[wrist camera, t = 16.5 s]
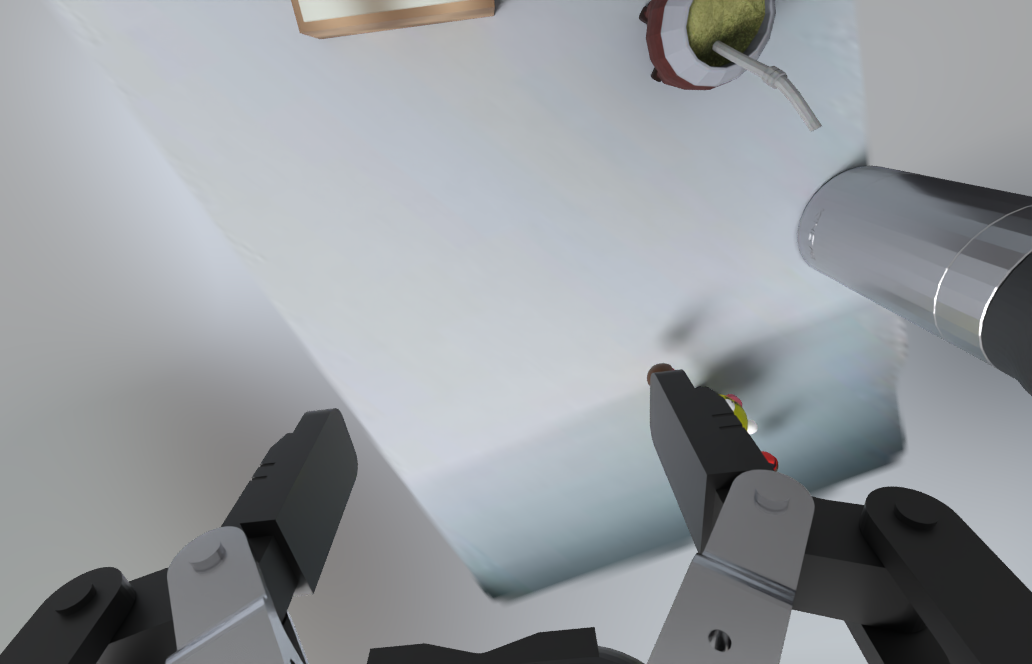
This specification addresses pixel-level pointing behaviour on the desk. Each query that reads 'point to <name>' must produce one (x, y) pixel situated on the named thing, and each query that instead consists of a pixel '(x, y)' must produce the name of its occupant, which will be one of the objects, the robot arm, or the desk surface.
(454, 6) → the wooden flat block
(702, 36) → the mate gourd
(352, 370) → the desk surface
